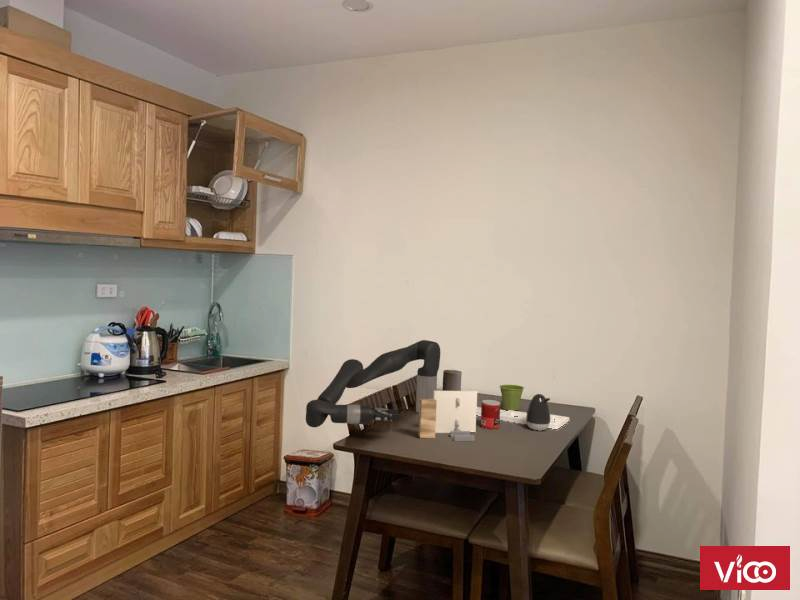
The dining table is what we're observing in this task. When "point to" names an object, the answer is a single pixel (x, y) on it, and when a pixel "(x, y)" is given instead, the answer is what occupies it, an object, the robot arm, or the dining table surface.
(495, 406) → the canned food
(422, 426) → the tall wooden block
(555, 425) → the holder
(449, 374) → the pillar candle
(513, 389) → the plant pot
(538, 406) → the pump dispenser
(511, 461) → the dining table surface
